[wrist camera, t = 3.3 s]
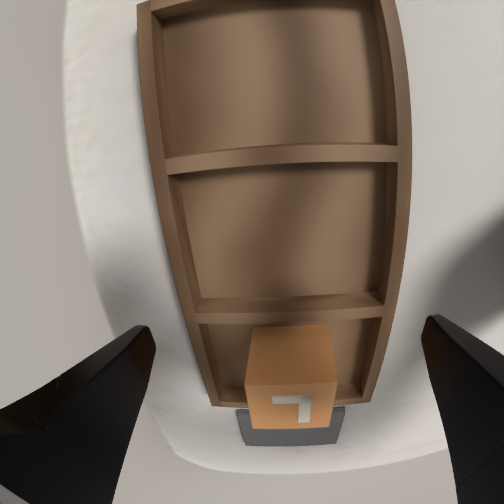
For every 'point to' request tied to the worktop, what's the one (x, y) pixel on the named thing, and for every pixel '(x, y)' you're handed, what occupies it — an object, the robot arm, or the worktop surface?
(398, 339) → the worktop surface
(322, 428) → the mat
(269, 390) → the letter cube
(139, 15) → the organiser
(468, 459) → the robot arm
